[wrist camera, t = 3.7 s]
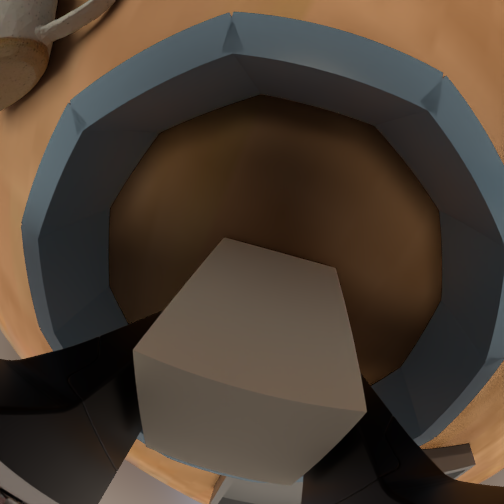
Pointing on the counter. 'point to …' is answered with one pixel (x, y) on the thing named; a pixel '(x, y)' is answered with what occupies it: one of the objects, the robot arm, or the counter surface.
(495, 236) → the blue ring
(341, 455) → the robot arm
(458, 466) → the tray
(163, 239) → the counter surface
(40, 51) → the ceramic mug
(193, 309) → the beige rectangular block
